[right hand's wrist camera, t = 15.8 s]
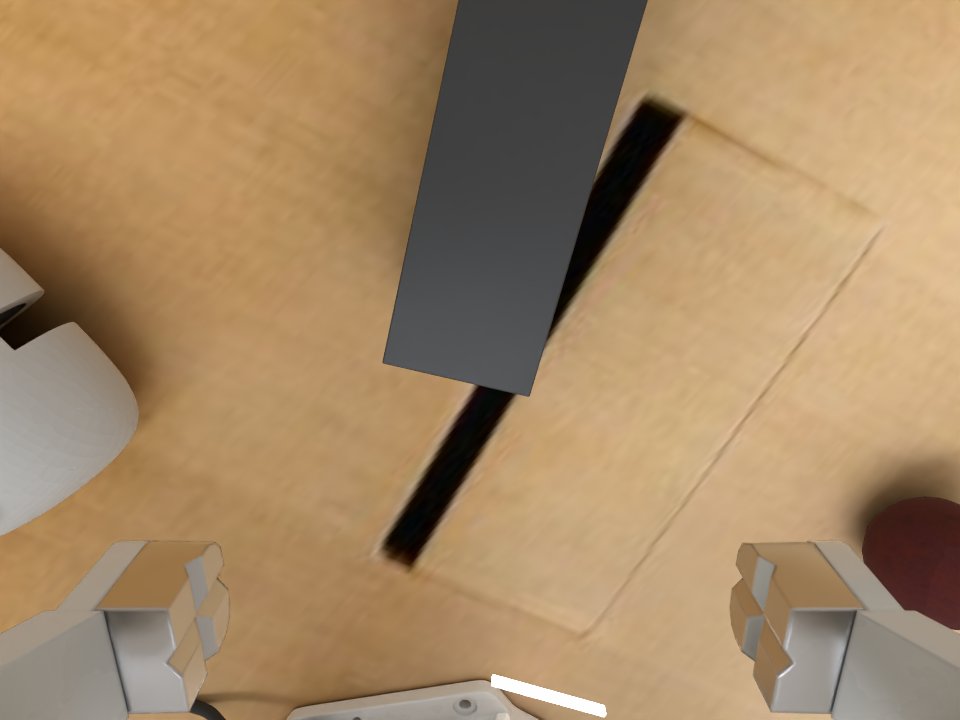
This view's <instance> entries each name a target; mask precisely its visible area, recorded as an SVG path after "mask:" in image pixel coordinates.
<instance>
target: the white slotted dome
mask: <svg viewBox="0 0 960 720" xmlns="http://www.w3.org/2000/svg"><path fill="white" fill-rule="evenodd" d="M43 294H44V290H43V289H42V288H41V287H40V286H39V285H38V284H37V283H36V282H35V281H34V280H33V279H32V278H31V277H30V276H29V275H28V274H27V273H26V272H25V271H24V270H23V269H22V268H21V267H20V266H19V265H18V264H17V263H16V262H15V261H14V260H13V259H12V258H11V257H10V256H9V255H8V254H7V253H5V252H4V251H3V250H2V249H1V248H0V329H1V328H2V327H3V326H5V325H6V324H7V323H9V322H10V321H11V320H13V319H14V318H15V317H17V316H18V315H19V314H21V313H22V312H23V311H25V310H26V309H27V308H29V307H30V306H31V305H32V304H34V303H35V302H36V301H37V300H38V299H39V298H41V297H42V295H43ZM138 420H139V410H138V405H137V401H136V399H135V396H134V393H133V391H132V390H131V388H130V386H129V384H128V382H127V381H126V379H125V378H124V377H123V375H122V374H121V373H120V371H119V370H118V369H117V367H116V366H115V365H114V364H113V363H112V361H111V360H110V359H109V358H108V357H107V356H106V354H105V353H104V352H103V351H102V350H101V349H100V348H99V347H98V346H97V345H96V344H95V342H94V341H93V340H92V339H91V338H90V337H89V336H88V335H87V334H86V333H85V332H84V331H83V330H82V329H81V328H80V327H79V326H78V325H77V324H76V323H75V322H69V323H66V324H63V325H61V326H58V327H56V328H54V329H52V330H50V331H48V332H46V333H44V334H42V335H41V336H39V337H37V338H35V339H34V340H32V341H30V342H28V343H27V344H25V345H23V346H22V347H20V348H18V349H17V350H13V349H12V348H11V347H10V346H9V345H8V344H7V343H6V342H5V341H4V340H3V339H2V338H1V337H0V536H2V535H4V534H6V533H9V532H10V531H12V530H14V529H16V528H18V527H20V526H22V525H24V524H26V523H28V522H30V521H31V520H33V519H35V518H37V517H38V516H40V515H42V514H43V513H45V512H46V511H48V510H49V509H51V508H53V507H54V506H56V505H57V504H59V503H60V502H62V501H63V500H64V499H66V498H67V497H69V496H70V495H72V494H73V493H75V492H76V491H77V490H78V489H80V488H81V487H82V486H84V485H85V484H86V483H87V482H89V481H90V480H91V479H92V478H94V477H95V476H96V475H97V474H98V473H100V472H101V471H102V470H103V469H104V468H105V467H106V466H107V465H108V464H110V463H111V462H112V461H113V460H114V459H115V458H116V457H117V456H118V454H119V453H120V452H121V451H122V450H123V449H124V448H125V447H126V446H127V444H128V443H129V441H130V440H131V438H132V437H133V435H134V433H135V431H136V428H137V425H138Z"/></svg>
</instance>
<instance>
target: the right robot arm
mask: <svg viewBox="0 0 960 720" xmlns="http://www.w3.org/2000/svg"><path fill="white" fill-rule="evenodd" d="M223 566H224V561H223V556H222V551H221V547H220V546H219V545H218V544H217V543H216V542H194V541H119V542H116V543H113V544H112V545H111V546H110V547H109V548H108V550H107V551H106V552H105V553H104V554H103V555H102V557H101V558H100V559H99V560H98V561H97V562H96V564H95V565H94V566H93V567H92V568H91V569H90V571H89V572H88V573H87V574H86V575H85V576H84V578H83V579H82V580H81V581H80V582H79V583H78V585H77V586H76V587H75V588H74V589H73V590H72V592H71V593H70V594H69V595H68V596H67V597H66V599H65V600H64V601H63V602H62V603H61V604H60V606H59V607H58V608H57V609H56V610H55V611H43V612H41V613H39V614H37V615H35V616H34V617H32V618H30V619H28V620H26V621H24V622H22V623H20V624H18V625H16V626H14V627H12V628H11V629H9V630H7V631H5V632H3V633H1V634H0V720H126V719H128V718H129V715H128V714H146V713H180V712H190V713H194V714H197V715H200V716H202V717H204V718H206V719H207V720H226V719H225V718H224V717H223V716H222V715H221V714H220V712H219V711H218V710H217V709H215V708H214V707H213V706H211V705H209V704H207V703H204V702H201V701H197V700H195V699H196V697H197V695H198V693H199V691H200V689H201V687H202V685H203V683H204V681H205V679H206V677H207V670H206V665H205V661H206V660H208V659H209V658H210V657H212V656H213V655H215V654H216V653H217V652H219V650H220V647H221V645H222V643H223V641H224V639H225V636H226V632H227V627H228V623H229V618H230V599H229V592H228V588H227V587H226V586H225V585H224V584H223V583H222V582H221V581H220V580H219V579H218V578H217V577H218V575H219V573H220V572H221V570H222V568H223ZM736 566H737V568H738V570H739V572H740V573H741V575H742V577H743V578H742V579H741V580H740V581H739V582H738V583H737V584H736V585H735V586H734V587H733V588H732V592H731V601H730V615H731V625H732V629H733V632H734V636H735V639H736V641H737V643H738V645H739V648H740V650H741V652H743V653H744V654H745V655H747V656H748V657H750V658H751V659H752V660H754V661H755V665H754V670H753V677H754V679H755V681H756V683H757V685H758V687H759V689H760V691H761V693H762V695H763V697H764V699H765V701H766V703H767V705H768V707H769V709H770V711H771V712H778V713H814V714H831V717H832V718H833V719H834V720H960V634H959V633H957V632H955V631H953V630H951V629H949V628H947V627H946V626H944V625H942V624H940V623H938V622H936V621H934V620H932V619H930V618H928V617H926V616H925V615H923V614H921V613H919V612H917V611H905V610H904V609H903V608H902V607H901V606H900V604H899V603H898V602H897V601H896V600H895V599H894V598H893V596H892V595H891V594H890V593H889V592H888V591H887V589H886V588H885V587H884V586H883V585H882V584H881V582H880V581H879V580H878V579H877V578H876V577H875V575H874V574H873V573H872V572H871V571H870V570H869V568H868V567H867V566H866V565H865V564H864V563H863V561H862V560H861V559H860V558H859V557H858V556H857V554H856V553H855V552H854V551H853V550H852V549H851V547H850V546H849V545H848V544H847V543H844V542H842V541H840V540H826V541H807V542H759V543H742V545H741V547H740V549H739V551H738V555H737V561H736ZM491 682H492V683H491ZM491 682H489V681H485V680H475V681H468V682H462V683H455V684H448V685H442V686H435V687H429V688H422V689H416V690H409V691H403V692H396V693H390V694H383V695H377V696H370V697H363V698H357V699H350V700H344V701H337V702H331V703H324V704H318V705H311V706H305V707H301V708H297V709H295V710H293V711H292V712H291V713H290V715H289V716H288V717H287V719H286V720H539V719H537V718H535V717H533V716H531V715H529V714H528V713H526V712H524V711H522V710H520V709H518V708H517V707H515V706H514V705H513V704H512V703H511V702H510V700H509V699H508V698H507V697H506V696H505V695H504V693H503V692H502V691H501V690H500V689H499V688H501V689H505V690H508V691H512V692H515V693H519V694H523V695H526V696H530V697H533V698H537V699H541V700H544V701H548V702H551V703H555V704H559V705H562V706H566V707H570V708H573V709H577V710H580V711H584V712H588V713H591V714H595V715H598V716H602V717H605V715H606V711H605V706H604V705H601V704H597V703H594V702H590V701H587V700H583V699H580V698H576V697H572V696H569V695H565V694H562V693H558V692H555V691H551V690H547V689H544V688H540V687H537V686H533V685H530V684H526V683H522V682H519V681H515V680H512V679H508V678H505V677H501V676H497V675H494V674H493V675H492V677H491Z"/></svg>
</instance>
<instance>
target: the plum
mask: <svg viewBox="0 0 960 720" xmlns="http://www.w3.org/2000/svg"><path fill="white" fill-rule="evenodd" d="M862 554H863V560H864V564H865V565H866V566H867V567H868V568H869V570H870V571H871V572H872V573H873V574H874V575H875V577H876V578H877V579H878V580H879V581H880V582H881V584H882V585H883V586H884V587H885V588H886V589H887V591H888V592H889V593H890V594H891V595H892V596H893V598H894V599H895V600H896V601H897V602H898V603H899V604H900V606H901V607H902V608H903V609H904V610H905V611H917V612H919V613H921V614H923V615H925V616H926V617H928V618H930V619H932V620H934V621H936V622H938V623H940V624H942V625H944V626H946V627H947V628H949V629H953V630H960V505H959V504H957V503H954V502H952V501H949V500H946V499H942V498H935V497H918V498H912V499H907V500H903V501H901V502H898V503H896V504H894V505H892V506H890V507H888V508H887V509H885V510H884V511H883V512H881V513H880V514H879V515H878V516H877V517H876V518H875V519H874V520H873V521H872V522H871V523H870V525H869V526H868V527H867V530H866V534H865V538H864V542H863V547H862Z"/></svg>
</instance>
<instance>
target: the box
mask: <svg viewBox="0 0 960 720" xmlns="http://www.w3.org/2000/svg"><path fill="white" fill-rule="evenodd" d="M647 1H648V0H459V2H458V6H457V11H456V16H455V21H454V25H453V30H452V35H451V40H450V44H449V49H448V54H447V59H446V63H445V68H444V73H443V78H442V82H441V87H440V92H439V97H438V101H437V106H436V111H435V116H434V120H433V125H432V130H431V135H430V139H429V144H428V149H427V153H426V158H425V163H424V168H423V172H422V177H421V182H420V187H419V191H418V196H417V201H416V206H415V210H414V215H413V220H412V225H411V229H410V234H409V239H408V244H407V248H406V253H405V258H404V263H403V267H402V272H401V277H400V282H399V286H398V291H397V296H396V301H395V305H394V310H393V315H392V320H391V324H390V329H389V334H388V339H387V343H386V348H385V353H384V358H383V363H384V364H388V365H393V366H397V367H401V368H406V369H410V370H414V371H419V372H423V373H428V374H432V375H436V376H441V377H445V378H449V379H454V380H458V381H462V382H467V383H471V384H476V385H480V386H484V387H489V388H493V389H497V390H502V391H506V392H510V393H515V394H519V395H524V396H528V397H529V396H530V393H531V390H532V386H533V383H534V380H535V376H536V373H537V370H538V366H539V363H540V360H541V356H542V353H543V350H544V346H545V343H546V339H547V336H548V333H549V329H550V326H551V323H552V319H553V316H554V313H555V309H556V306H557V303H558V299H559V296H560V292H561V289H562V286H563V282H564V279H565V276H566V272H567V269H568V266H569V262H570V259H571V256H572V252H573V249H574V246H575V242H576V239H577V235H578V232H579V229H580V225H581V222H582V219H583V215H584V212H585V209H586V205H587V202H588V199H589V195H590V192H591V188H592V185H593V182H594V178H595V175H596V172H597V168H598V165H599V162H600V158H601V155H602V152H603V148H604V145H605V142H606V138H607V135H608V131H609V128H610V125H611V121H612V118H613V115H614V111H615V108H616V105H617V101H618V98H619V95H620V91H621V88H622V84H623V81H624V78H625V74H626V71H627V68H628V64H629V61H630V58H631V54H632V51H633V48H634V44H635V41H636V38H637V34H638V31H639V27H640V24H641V21H642V17H643V14H644V11H645V7H646V4H647Z"/></svg>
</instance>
